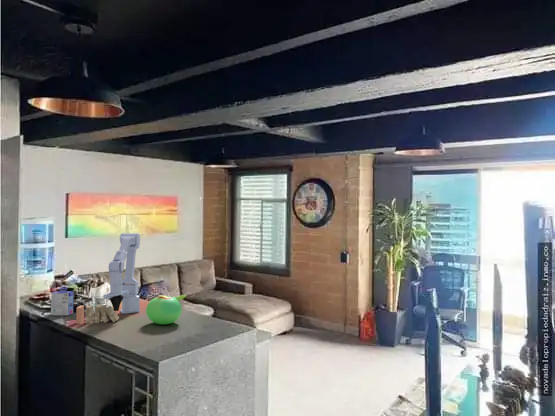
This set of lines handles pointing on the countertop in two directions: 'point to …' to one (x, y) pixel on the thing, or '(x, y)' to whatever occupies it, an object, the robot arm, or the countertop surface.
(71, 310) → the ink cartridge box
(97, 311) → the domino
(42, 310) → the countertop surface
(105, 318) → the domino
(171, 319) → the green teapot
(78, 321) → the domino
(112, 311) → the domino
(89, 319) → the domino
